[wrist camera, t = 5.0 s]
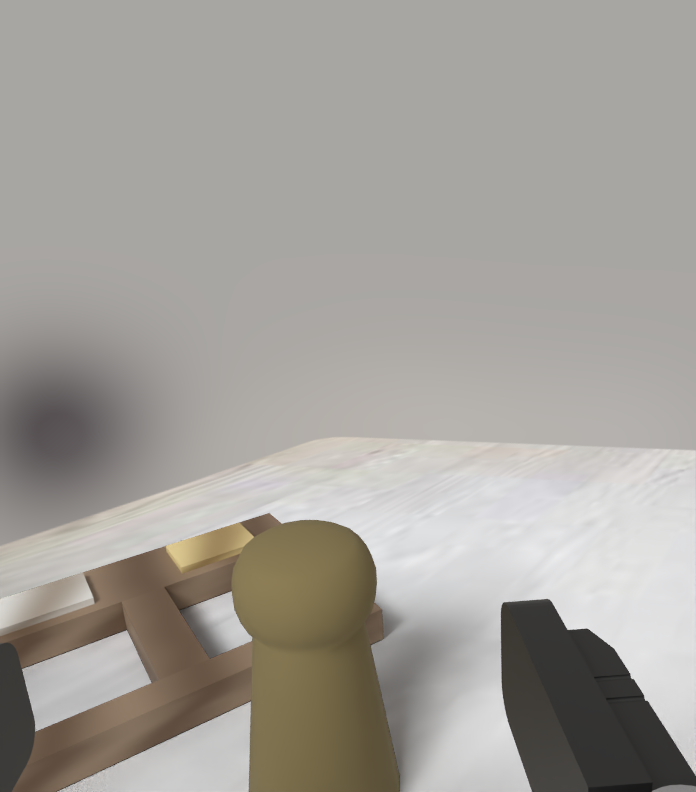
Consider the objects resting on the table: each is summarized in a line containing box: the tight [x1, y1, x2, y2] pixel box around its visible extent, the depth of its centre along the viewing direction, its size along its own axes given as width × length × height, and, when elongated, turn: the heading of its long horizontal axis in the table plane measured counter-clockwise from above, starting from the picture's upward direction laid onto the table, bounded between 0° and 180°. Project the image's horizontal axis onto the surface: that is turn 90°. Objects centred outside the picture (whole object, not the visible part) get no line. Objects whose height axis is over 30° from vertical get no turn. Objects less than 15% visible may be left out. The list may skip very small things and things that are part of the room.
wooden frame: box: [0, 513, 384, 792], centre depth 35 cm, size 20×14×2 cm
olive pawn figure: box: [231, 520, 400, 792], centre depth 24 cm, size 6×6×11 cm
